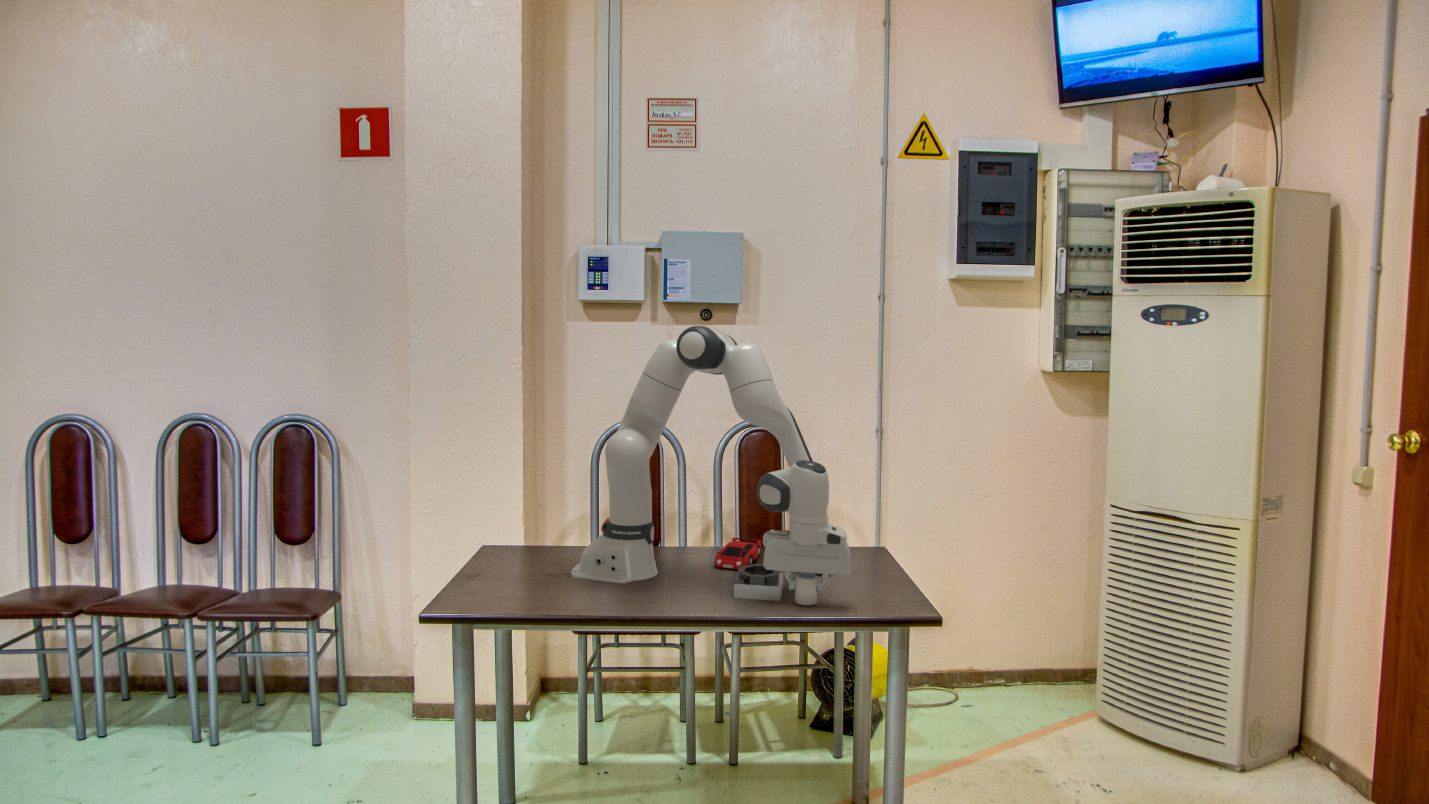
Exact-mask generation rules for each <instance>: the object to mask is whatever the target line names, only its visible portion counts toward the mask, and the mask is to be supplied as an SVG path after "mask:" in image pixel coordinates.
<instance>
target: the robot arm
mask: <svg viewBox="0 0 1429 804" xmlns="http://www.w3.org/2000/svg"><path fill="white" fill-rule="evenodd" d="M697 371H699V372H700V373H705V374H711V375H719V376H720V375H721V376H722V375H723V376H724V378H725V380H726V383H727V387H728V390H729V395H730V399H731V401H732V406H733V408H734V410H735V411H736V413H737V415H738V417H739V418H740V419H741V420H743V421H744V422H747V424H750V425H754V426H756V427H759V428H761V429H764V430H766V431H768V432H769V433H771V434H772V435H773V436H774V437H775V438H776V440H777V442H778V443H779V446H780V448H781V451H782V453H783V456H784V458H785V460H786V463H787V465H788V467H786V468H783V469H779V470H775V471H770V472H767V473H764V474H763V475H762V476H761V477H760V478H759V481H758V482H757V488H756V495H757V499H758V502H759V503H760V505H761V507H763V508H764V509H765V510H766V511H768V512H773V513H781V512H782V513H785V512H786V513H787V514H788V515H789V520H788V523H789V525H788V530H785V529H784V530H782V529H781V530H776V529H769V530H768V531H765V532H764V534H763V536H762V545H763V547H764V548H765V549H764V554H763V562H762V563H763V564H762V565H763V566H764V567H765V569H766V570H777V571H779V572H784V577H785V579H786V581H787V582H788V591H789V590H791V591H795V585H796V580H793V578H792V577H791V575H792V572H793V573H798V572H804V573H814V574H818V575H820V574H821V576H822V580H821V581H820V582H818V581H817V593H824V586H825V584H826V583H827V581H828V580H829V575H835V576H845V577H846V576H847V577H848V576H849V575H850V573H852V559H851V551H850V546H849V543H848V542H847V541H848V540H847V538H848V535H847V531H846V530H845V529H844V528H841V527H838V526H835V525H832V524H831V523H829V518H828V512H827V509H828V506H829V502H830V501H829V499H830V483H829V482H830V481H829V474H828V470H827V468H826V467H825V466H824V465H823V464H821V463H819V462H816V461H813V458H812V456H811V453H810V451H809V449H808V447H807V444H806V441H805V439H804V437H803V433H802V432H801V430H800V427H799V425H798V422H797V421H796V419H795V416H794V415H793V412H792V411H791V410H790V409H789V407H788V406H786V404H785V403H784V401H783V400H782V398H781V397H780V395H779V393H778V390H777V388H776V385H775V382H774V378H773V375H772V372H771V370H770V367H769V364H768V362H767V359H766V358H765V356H764V353H763V352H762V350H761V348H760V347H759V346H758V345H756V344H754V343H749V342H748V343H745V342H744V343H740V344H739V343H737V341H736V340H735V339H734V338H733V337H731V336H730V335H728V334H726V333H724V332H723V331H721V330H718V329H714V328H709V327H708V326H704V325H695V326H690V327H687V328H686V329H684V330H683V331H682V332H681V333H680V335H678V338H677V339H669V338H668V339H666V340H665V339H664V340H663V341H661V342H660V344H659V345H658V346H657V347H656V348H655V350H654V352H653V354H652V355H651V356H650V358H649V360H648V361H647V363H646V365H645V367H644V369H643V372H642V373H641V375H640V378H639V380H638V382H637V384H636V386H635V388H634V390H633V392H632V394H631V396H630V398H629V402H628V404H627V406H626V410H625V412H624V415H623V417H622V420H621V422H620V424H619V426H618V429H617V430H616V432H615V433H614V434H613V435H612V436H610V437H609V439H608V440H607V442H606V444H605V449H604V453H605V455H604V456H605V465H606V467H605V468H606V476H607V477H606V478H607V483H608V494H609V499H608V500H609V503H608V504H609V517H607V518H606V519H605V520H604V522H603V523H602V524H601V526H600V528H601V529H600V531H601V532H602V534H601V535H600V536H598V537H597V538H596V539H594V540H593V541H592V542H591V543H589V544H587V545H586V547H585V548H584V549H583V552H582V553H581V557H580V560H579V561H580V562H579V563H577V564H576V565H574V567H573V568H572V569H571V574H570V575H571V577H572V578H575V579H583V580H589V581H599V582H605V583H607V582H609V583H616V584H627V583H630V582H635V581H643V580H648V579H652V578H653V577H656V576H657V575H658V574H659V571H658V568H657V565H656V560H655V555H654V554H655V553H654V545H653V542H654V540H655V539H654V538H655V527H654V520H653V519H652V518H653V511H652V510H653V505H652V504H653V498H652V497H653V496H652V495H653V490H652V483H651V471H650V461H651V460H650V458H651V457H652V456H653V453H654V451H655V449H656V447H657V444H658V443H659V441H660V438H661V436H662V433H663V432H664V430H665V427H666V425H667V422H668V420H669V419H670V416H671V414H672V412H673V409H674V407H675V406H676V403H677V401H678V400H679V398H680V395H681V393H682V391H683V389H684V387H685V385H686V382H687V380H688V379H689V377H690V376H691V374H694V373H695V372H697Z"/></svg>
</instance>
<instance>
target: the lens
mask: <svg viewBox="0 0 1429 804" xmlns="http://www.w3.org/2000/svg"><path fill="white" fill-rule="evenodd" d="M795 581H796V585H795V590H794V602H795V603H796V604H798V605H802V606H814V605H815V604H817V599H818V592H817V582H818V575H816V573H804V572H800V573H798V572H797V574H795Z"/></svg>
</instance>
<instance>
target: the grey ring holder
mask: <svg viewBox="0 0 1429 804" xmlns="http://www.w3.org/2000/svg"><path fill="white" fill-rule="evenodd" d="M783 591H784V573H782V572H780V571H777V570H766V569H765V567H764V566H763V564H755V563H754V564H753V563H752V565H747V566H743V567H741V568H739V569H737V573H736V575H735V577H734V580H733V599H741V600H742V599H743V600H756V601H757V600H759V601H761V600H762V601H777V602H781V598H782V594H783Z"/></svg>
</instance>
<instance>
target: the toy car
mask: <svg viewBox="0 0 1429 804" xmlns="http://www.w3.org/2000/svg"><path fill="white" fill-rule="evenodd" d="M762 543H763V539H753V538H741V537H732V539H731V541H729V542H728V543H727V544H725V546H723V547H722V548H721V549H720V550H719V551H718V552H717V553H716V555H715V559H714V563H713V565H714V566H715V567H717V568H724V569H725V568H726V569H732V570H733V569H735V570H739V568H741V567H743V566H747V565H752V564H753V561H755V560H756V559H757V558H759V557H760V555H761V551H762V548H763V546H762V545H763V544H762Z"/></svg>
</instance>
